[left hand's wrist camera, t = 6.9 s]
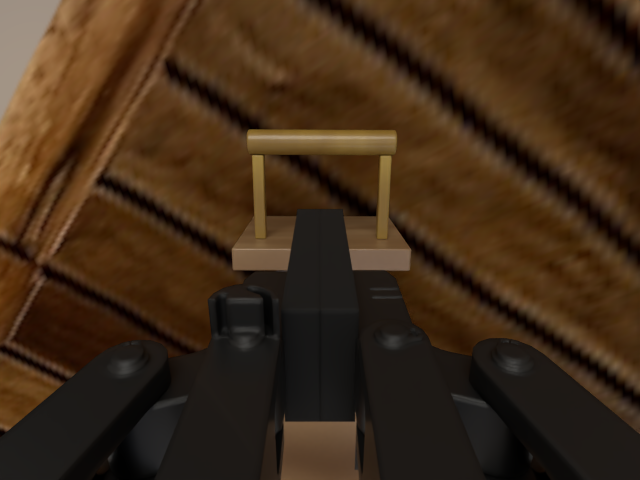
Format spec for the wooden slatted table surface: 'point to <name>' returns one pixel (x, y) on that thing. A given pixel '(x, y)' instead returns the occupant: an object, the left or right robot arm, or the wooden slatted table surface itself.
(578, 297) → the wooden slatted table surface
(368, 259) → the drawer
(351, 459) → the cabinet
